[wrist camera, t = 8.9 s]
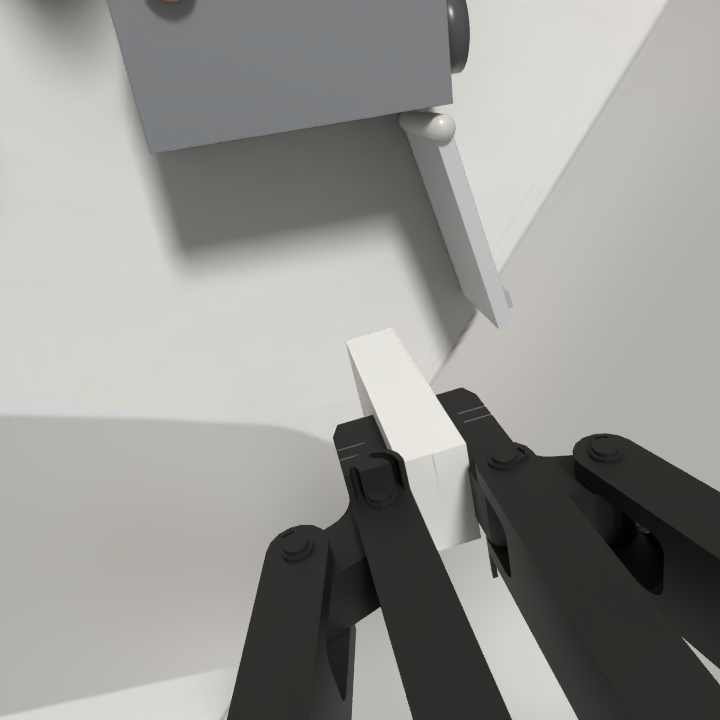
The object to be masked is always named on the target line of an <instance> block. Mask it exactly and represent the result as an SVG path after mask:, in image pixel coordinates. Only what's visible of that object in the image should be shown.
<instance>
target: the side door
mask: <svg viewBox="0 0 720 720" xmlns="http://www.w3.org/2000/svg"><path fill="white" fill-rule="evenodd" d="M399 124H400V127H401V128H402V129H403V130H404V131H406V134H407V137H408V140H409V143H410V145H411V148H412V151H413V154H414V157H415V160H416V162H417V165H418V168H419V171H420V174H421V176H422V179H423V182H424V185H425V188H426V191H427V193H428V196H429V199H430V202H431V205H432V208H433V210H434V213H435V216H436V219H437V222H438V224H439V227H440V230H441V233H442V236H443V239H444V241H445V244H446V247H447V250H448V253H449V255H450V258H451V261H452V264H453V267H454V270H455V272H456V275H457V278H458V281H459V284H460V286H461V289H462V292H463V295H464V296H465V297H466V298H467V299H468V300H469V301H470V302H471V303H472V304H473V305H474V306H475V307H476V308H477V309H478V310H479V311H480V312H481V313H483V314H484V315H485V316H486V317H487V318H488V319H489V320H490V321H491V322H492V323H493V324H494V325H495V326H496V327H497V328H498V329H499V330H500V329H502V328H504V327H506V326H508V325H511V324H513V321H512V318H511V314H510V312H509V308H510V307H512V306H513V305H512V302H511V298H510V296H509V292H508V290H506V289H505V288H504V287H503V286H501V283H500V280H499V277H498V274H497V270H496V267H495V264H494V261H493V258H492V255H491V252H490V248H489V245H488V242H487V239H486V236H485V233H484V230H483V226H482V223H481V220H480V217H479V214H478V211H477V208H476V204H475V201H474V198H473V195H472V192H471V189H470V186H469V182H468V179H467V176H466V173H465V170H464V167H463V164H462V160H461V157H460V154H459V151H458V148H457V145H456V142H455V138H454V133H455V129H456V126H455V122H454V120H453V118H452V117H450V116H449V115H445V114H439V113H433V112H427V111H421V110H411V111H405V112H402V113H401V115H400V117H399Z"/></svg>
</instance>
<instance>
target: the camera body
mask: <svg viewBox="0 0 720 720" xmlns="http://www.w3.org/2000/svg"><path fill="white" fill-rule="evenodd" d="M107 3H108V6H109V10H110V14H111V17H112V21H113V24H114V28H115V31H116V35H117V38H118V42H119V45H120V49H121V52H122V56H123V59H124V63H125V67H126V70H127V74H128V77H129V81H130V84H131V88H132V91H133V95H134V98H135V102H136V105H137V109H138V112H139V116H140V120H141V123H142V127H143V130H144V134H145V137H146V141H147V144H148V148H149V151H150V154H151V153H157V152H167V151H173V150H179V149H185V148H192V147H198V146H204V145H210V144H216V143H222V142H228V141H234V140H240V139H246V138H252V137H258V136H264V135H270V134H276V133H282V132H288V131H294V130H300V129H306V128H312V127H318V126H324V125H330V124H336V123H342V122H348V121H354V120H360V119H366V118H372V117H379V116H385V115H386V114H393V113H399V112H405V111H411V110H417V109H423V108H429V107H435V106H441V105H447V104H453V98H452V82H451V74H455V73H460V72H462V70H463V69H464V67H465V65H466V62H467V58H468V52H469V41H470V27H469V16H468V9H467V4H466V0H107Z"/></svg>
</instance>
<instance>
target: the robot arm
mask: <svg viewBox="0 0 720 720" xmlns="http://www.w3.org/2000/svg"><path fill="white" fill-rule="evenodd" d="M345 342H346V346H347V350H348V354H349V358H350V362H351V366H352V370H353V374H354V378H355V382H356V386H357V390H358V394H359V398H360V402H361V406H362V410H363V414H364V417H363V418H360V419H357V420H353V421H350V422H346V423H343V424H339V425H337V428H336V430H335V433H334V436H333V440H334V443H335V447H336V450H337V454H338V458H339V461H340V465H341V468H342V472H343V475H344V479H345V482H346V486H347V490H348V493H349V499H350V502H349V506H348V509H347V510H346V512H345V514H344V515H343V516H342V517H341V518H340V519H339V520H338V521H337V522H336V523H334V524H333V525H331V526H330V527H328V528H326V529H325V530H322V529H321V528H319V527H316V526H314V525H299V526H295V527H292V528H289V529H287V530H285V531H284V532H282V533H280V534H279V535H278V536H277V537H276V538H275V539H274V540H273V541H272V542H271V543H270V545H269V547H268V550H267V552H266V556H265V560H264V564H263V568H262V572H261V577H260V581H259V585H258V590H257V594H256V598H255V603H254V607H253V611H252V616H251V620H250V623H249V628H248V632H247V636H246V640H245V645H244V649H243V653H242V658H241V662H240V666H239V670H238V674H237V679H236V683H235V687H234V691H233V696H232V700H231V704H230V709H229V713H228V717H227V720H351V716H352V697H353V678H354V659H355V639H356V627H355V624H356V623H357V622H359V621H360V620H361V619H363V618H364V617H366V616H367V615H369V614H370V613H372V612H373V611H375V610H376V609H378V608H379V607H381V609H382V613H383V616H384V620H385V623H386V627H387V630H388V634H389V637H390V641H391V644H392V648H393V651H394V655H395V658H396V662H397V665H398V669H399V672H400V676H401V679H402V683H403V686H404V689H405V693H406V697H407V700H408V704H409V707H410V711H411V714H412V717H413V720H512V719H511V717H510V714H509V712H508V710H507V708H506V705H505V703H504V701H503V699H502V696H501V694H500V691H499V689H498V687H497V685H496V683H495V680H494V678H493V676H492V673H491V671H490V669H489V667H488V664H487V662H486V660H485V657H484V655H483V653H482V651H481V648H480V646H479V644H478V641H477V639H476V637H475V635H474V632H473V630H472V628H471V626H470V623H469V621H468V619H467V616H466V614H465V612H464V610H463V607H462V605H461V603H460V601H459V598H458V596H457V594H456V592H455V589H454V587H453V585H452V582H451V581H450V578H449V576H448V573H447V571H446V569H445V566H444V564H443V562H442V560H441V557H440V555H439V553H438V551H440V550H444V549H446V548H450V547H453V546H456V545H459V544H463V543H466V542H469V541H472V540H476V539H479V538H481V535H480V529H479V523H480V525H481V527H482V529H483V530H484V532H485V534H486V538H487V545H488V552H489V558H490V565H491V571H492V575H493V578H495V577H498V574H497V569H498V571H499V572H500V574H501V576H502V578H503V580H504V582H505V584H506V585H507V587H508V589H509V591H510V593H511V595H512V597H513V599H514V600H515V602H516V604H517V606H518V608H519V610H520V612H521V613H522V615H523V617H524V619H525V621H526V623H527V624H528V626H529V628H530V630H531V632H532V634H533V636H534V637H535V639H536V641H537V643H538V645H539V647H540V649H541V651H542V653H543V654H544V656H545V658H546V660H547V662H548V664H549V665H550V667H551V669H552V671H553V673H554V675H555V677H556V678H557V680H558V682H559V684H560V686H561V688H562V690H563V691H564V693H565V695H566V697H567V699H568V701H569V703H570V705H571V706H572V708H573V710H574V712H575V714H576V716H577V718H578V719H579V720H720V685H719V683H718V682H717V681H716V680H715V678H714V677H713V676H712V675H711V673H710V672H709V671H708V670H707V668H706V667H705V666H704V665H703V663H702V662H701V661H700V660H699V658H698V657H697V656H696V655H695V653H694V652H693V651H692V650H691V648H690V647H689V646H688V645H687V643H686V642H685V641H684V640H683V638H684V639H685V640H686V641H688V642H689V643H690V644H691V645H692V646H693V647H694V648H696V649H697V650H698V651H699V652H700V653H702V654H703V655H704V656H705V657H706V658H707V659H709V660H710V661H711V662H712V663H713V664H714V665H716V666H717V667H718V668H719V669H720V492H719V491H717V490H715V489H714V488H711V487H710V486H708V485H707V484H705V483H703V482H702V481H699V480H698V479H696V478H694V477H693V476H691V475H689V474H688V473H686V472H684V471H683V470H681V469H679V468H677V467H675V466H674V465H672V464H670V463H669V462H667V461H665V460H663V459H662V458H660V457H658V456H656V455H655V454H653V453H651V452H649V451H648V450H646V449H644V448H643V447H641V446H639V445H637V444H636V443H634V442H632V441H631V440H629V439H626V438H624V437H621V436H618V435H612V434H606V433H605V434H593V435H591V436H587V437H584V438H582V439H581V440H580V441H578V442H577V443H576V444H575V446H574V449H573V455H569V456H555V457H542V456H537V455H535V453H534V452H533V451H532V450H530V449H529V448H528V447H527V446H525V445H522V444H519V443H516V442H513V441H512V440H511V439H510V438H509V436H508V435H507V434H506V432H505V431H504V430H503V429H502V428H501V426H500V425H499V423H498V422H497V421H496V419H495V418H494V417H493V416H492V415H491V414H490V412H489V410H488V409H487V408H486V407H485V406H484V404H483V403H482V402H481V400H480V399H479V397H478V396H477V395H476V394H474V393H472V392H470V391H468V390H466V389H464V388H458V389H455V390H452V391H448V392H445V393H441V394H438V395H435V394H434V393H433V391H432V390H431V388H430V387H429V385H428V383H427V382H426V380H425V379H424V377H423V376H422V374H421V372H420V371H419V369H418V368H417V366H416V365H415V363H414V362H413V360H412V358H411V357H410V355H409V354H408V352H407V351H406V349H405V348H404V346H403V344H402V343H401V341H400V340H399V338H398V337H397V335H396V333H395V332H394V330H393V329H392V328H389V329H386V330H382V331H379V332H375V333H371V334H368V335H364V336H361V337H357V338H354V339H350V340H346V341H345ZM681 636H682V637H683V638H682V637H681Z"/></svg>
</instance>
